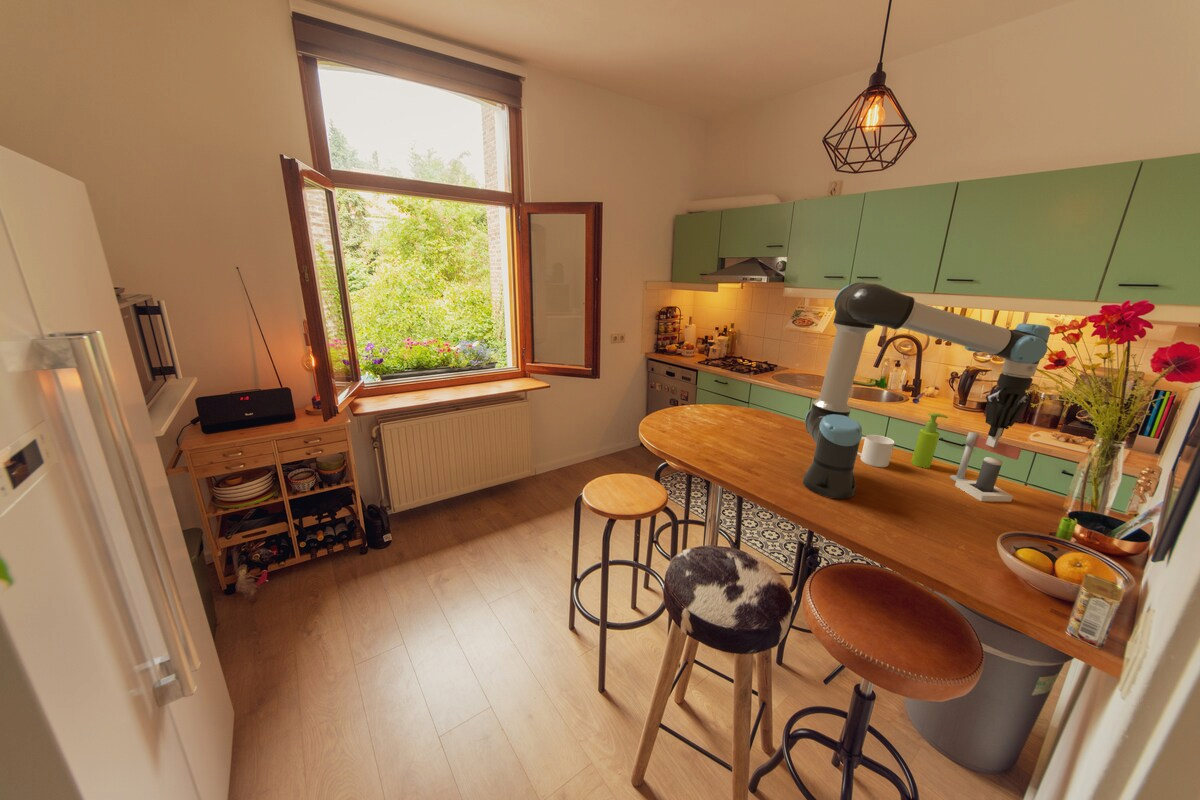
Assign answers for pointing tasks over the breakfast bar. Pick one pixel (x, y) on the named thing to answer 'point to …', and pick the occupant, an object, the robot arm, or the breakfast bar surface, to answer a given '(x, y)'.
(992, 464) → the dark grey cylinder
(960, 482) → the socket
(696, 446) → the breakfast bar surface
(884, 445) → the mug
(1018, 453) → the clip
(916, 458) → the soap dispenser
